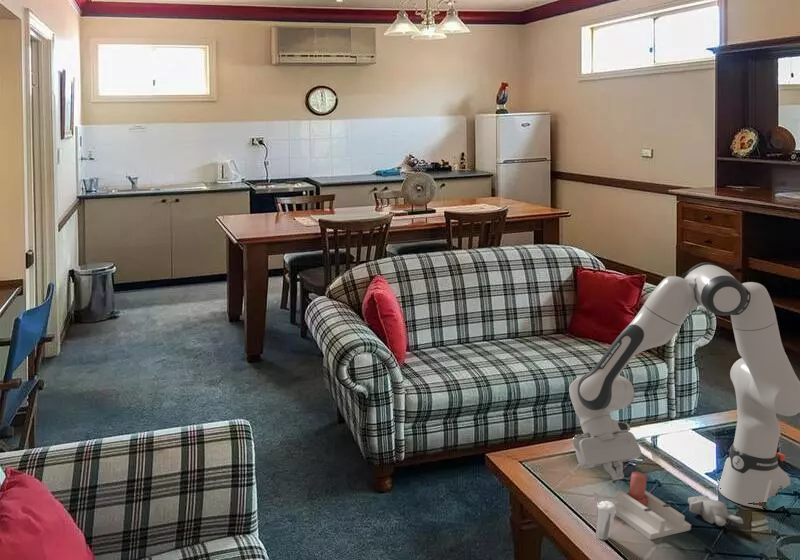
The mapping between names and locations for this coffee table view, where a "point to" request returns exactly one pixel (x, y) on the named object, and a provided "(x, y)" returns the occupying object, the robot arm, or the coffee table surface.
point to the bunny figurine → (711, 510)
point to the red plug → (638, 487)
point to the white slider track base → (650, 516)
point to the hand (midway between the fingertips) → (618, 478)
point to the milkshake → (604, 519)
